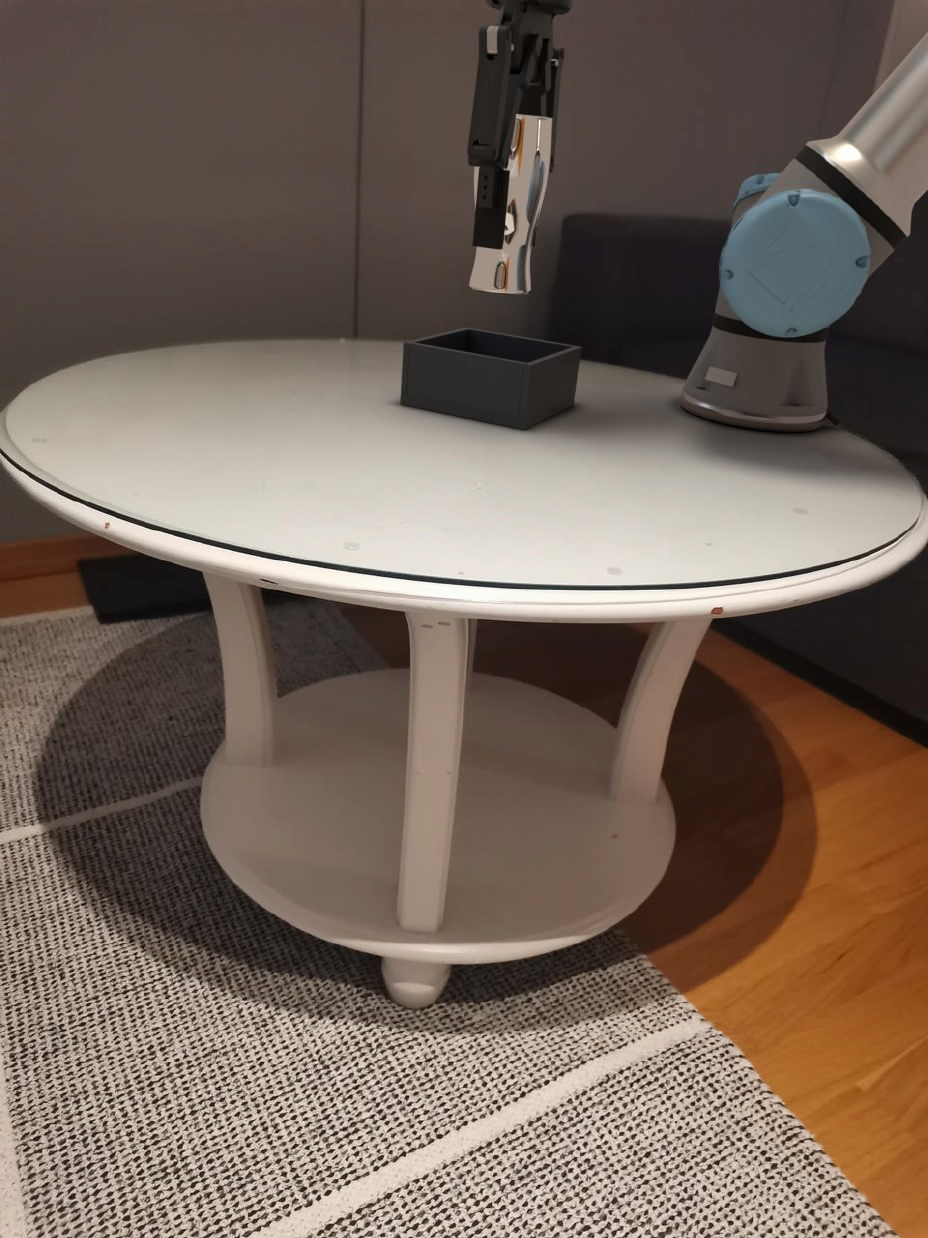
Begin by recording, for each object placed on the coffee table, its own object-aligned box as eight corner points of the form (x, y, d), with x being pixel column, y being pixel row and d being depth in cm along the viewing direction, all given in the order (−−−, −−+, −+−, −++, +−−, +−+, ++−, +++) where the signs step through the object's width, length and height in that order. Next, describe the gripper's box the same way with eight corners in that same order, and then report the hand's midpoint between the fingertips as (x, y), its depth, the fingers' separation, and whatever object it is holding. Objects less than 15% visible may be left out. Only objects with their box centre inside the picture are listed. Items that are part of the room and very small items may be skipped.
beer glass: (533, 288, 94) (552, 120, 88) (537, 298, 88) (558, 117, 81) (464, 282, 94) (478, 112, 87) (463, 291, 88) (477, 109, 81)
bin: (574, 404, 99) (582, 346, 96) (523, 430, 88) (531, 365, 85) (460, 382, 104) (465, 326, 101) (399, 404, 93) (403, 341, 90)
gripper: (537, -23, 89) (511, 238, 99) (438, -75, 72) (419, 244, 82) (612, -22, 86) (577, 246, 96) (528, -75, 70) (496, 255, 80)
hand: (504, 245), depth 89 cm, fingers closed on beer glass, 7 cm apart
